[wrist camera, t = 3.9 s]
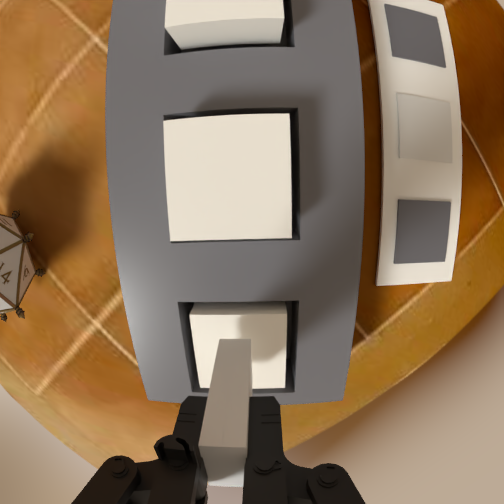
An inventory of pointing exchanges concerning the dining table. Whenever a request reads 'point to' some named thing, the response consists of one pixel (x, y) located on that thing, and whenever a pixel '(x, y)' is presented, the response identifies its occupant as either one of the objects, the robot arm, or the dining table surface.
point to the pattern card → (417, 142)
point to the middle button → (228, 177)
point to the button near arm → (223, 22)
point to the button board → (240, 250)
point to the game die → (14, 265)
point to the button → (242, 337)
